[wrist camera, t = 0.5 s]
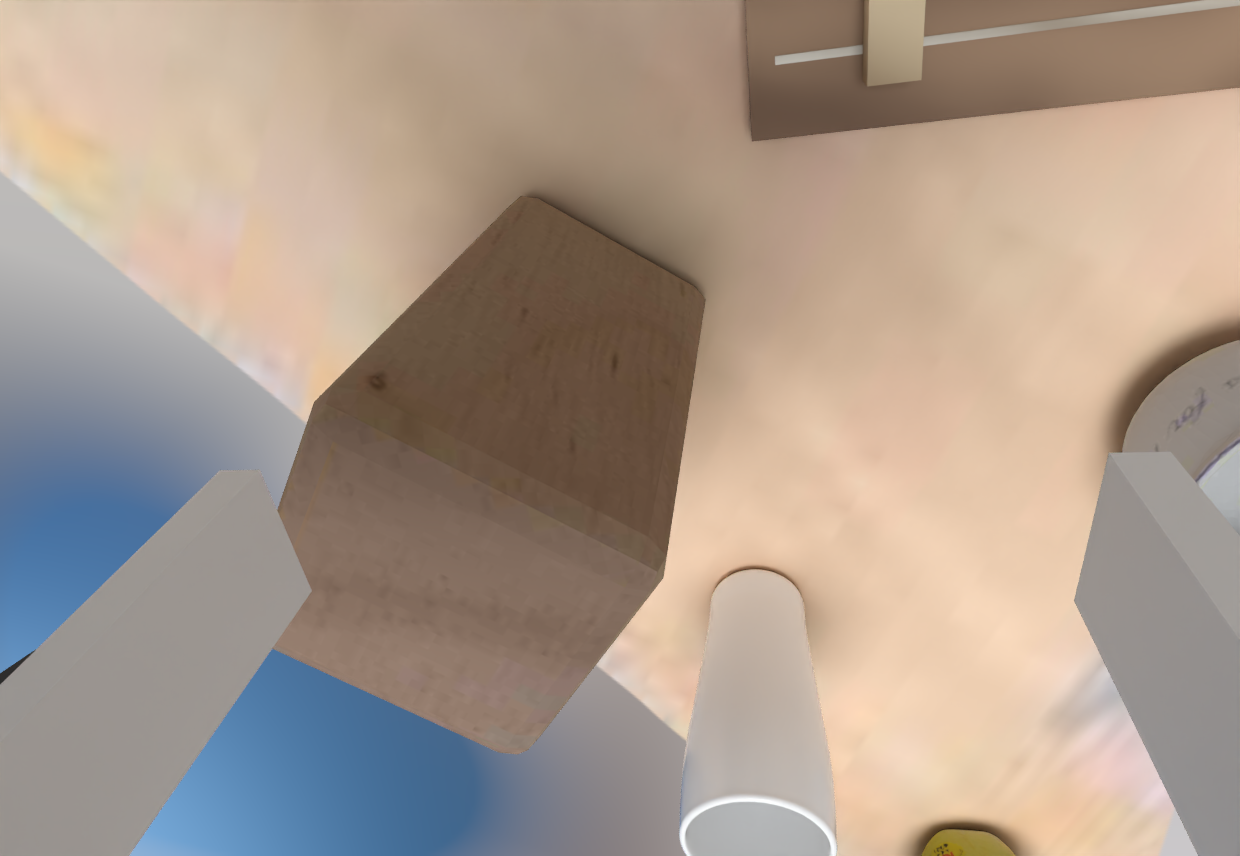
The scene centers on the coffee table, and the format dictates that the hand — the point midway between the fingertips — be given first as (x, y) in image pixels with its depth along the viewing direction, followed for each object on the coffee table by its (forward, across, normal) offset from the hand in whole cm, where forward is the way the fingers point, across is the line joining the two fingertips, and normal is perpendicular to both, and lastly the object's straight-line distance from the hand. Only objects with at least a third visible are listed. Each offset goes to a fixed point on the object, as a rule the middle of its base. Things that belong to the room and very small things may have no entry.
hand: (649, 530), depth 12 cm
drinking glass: (+25, +1, -25) cm, 35 cm away
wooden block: (+25, -7, -7) cm, 27 cm away
